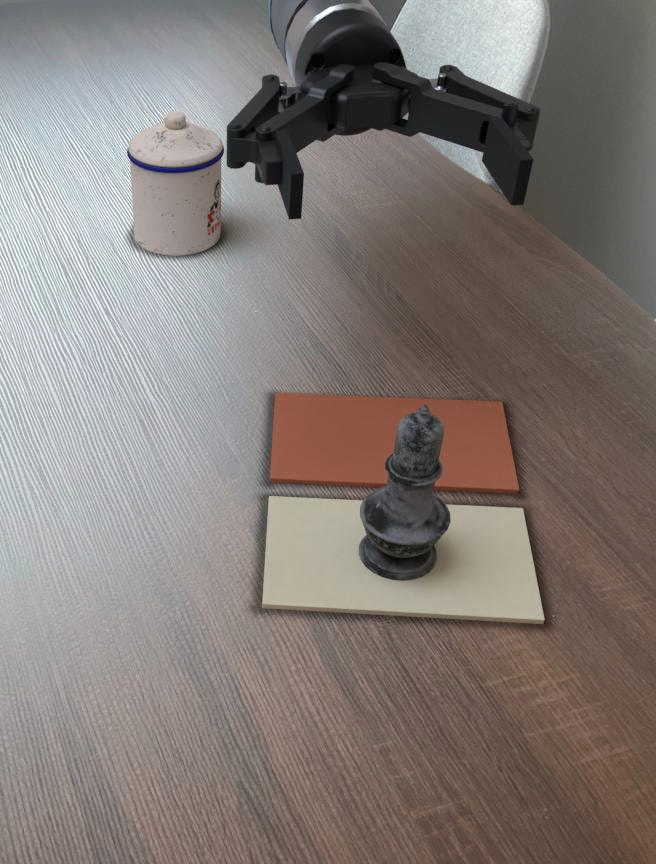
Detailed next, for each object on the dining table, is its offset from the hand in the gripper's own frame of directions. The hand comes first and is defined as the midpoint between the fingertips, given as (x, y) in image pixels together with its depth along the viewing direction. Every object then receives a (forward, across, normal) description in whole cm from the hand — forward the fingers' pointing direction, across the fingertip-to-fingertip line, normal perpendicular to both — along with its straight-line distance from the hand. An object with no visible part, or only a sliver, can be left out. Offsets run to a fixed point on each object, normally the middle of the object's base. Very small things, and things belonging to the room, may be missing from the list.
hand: (409, 190), depth 61 cm
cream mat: (+10, 0, -21) cm, 23 cm away
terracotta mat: (-3, -2, -21) cm, 21 cm away
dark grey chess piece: (+10, 0, -21) cm, 23 cm away
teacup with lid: (-40, +12, -21) cm, 47 cm away
